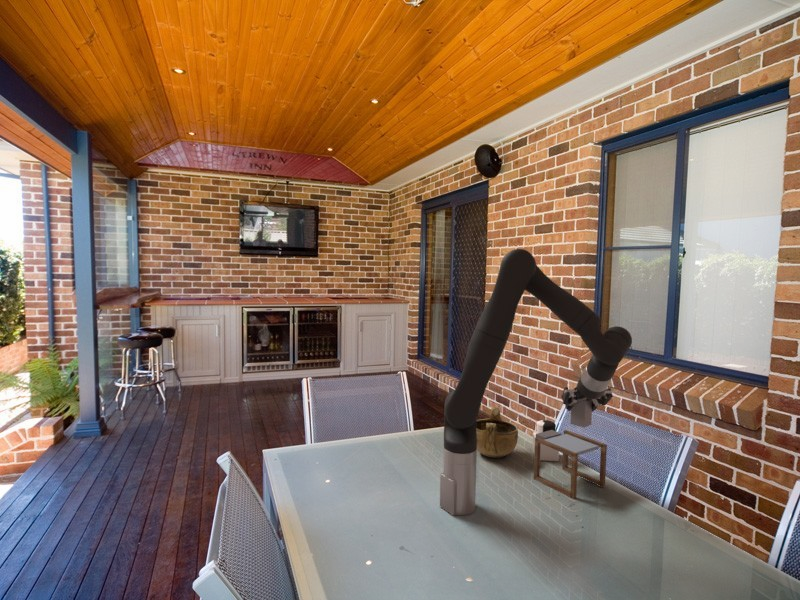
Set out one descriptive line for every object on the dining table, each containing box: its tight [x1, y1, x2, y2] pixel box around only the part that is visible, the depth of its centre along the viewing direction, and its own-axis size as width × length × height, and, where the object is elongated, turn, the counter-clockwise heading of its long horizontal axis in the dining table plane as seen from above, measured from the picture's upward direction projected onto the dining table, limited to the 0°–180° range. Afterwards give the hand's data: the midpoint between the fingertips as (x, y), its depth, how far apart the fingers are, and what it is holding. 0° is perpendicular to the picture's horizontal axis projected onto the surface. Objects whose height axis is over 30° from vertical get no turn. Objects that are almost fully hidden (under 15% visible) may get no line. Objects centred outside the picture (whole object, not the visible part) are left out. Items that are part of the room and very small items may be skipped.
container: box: [532, 419, 560, 462], centre depth 164 cm, size 8×8×13 cm
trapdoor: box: [536, 430, 600, 456], centre depth 145 cm, size 12×16×2 cm
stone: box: [569, 398, 593, 428], centre depth 139 cm, size 4×4×10 cm
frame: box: [533, 429, 608, 500], centre depth 144 cm, size 15×15×14 cm
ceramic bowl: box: [476, 406, 519, 459], centre depth 166 cm, size 22×17×15 cm
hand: (579, 408), depth 141 cm, fingers closed on stone, 6 cm apart
